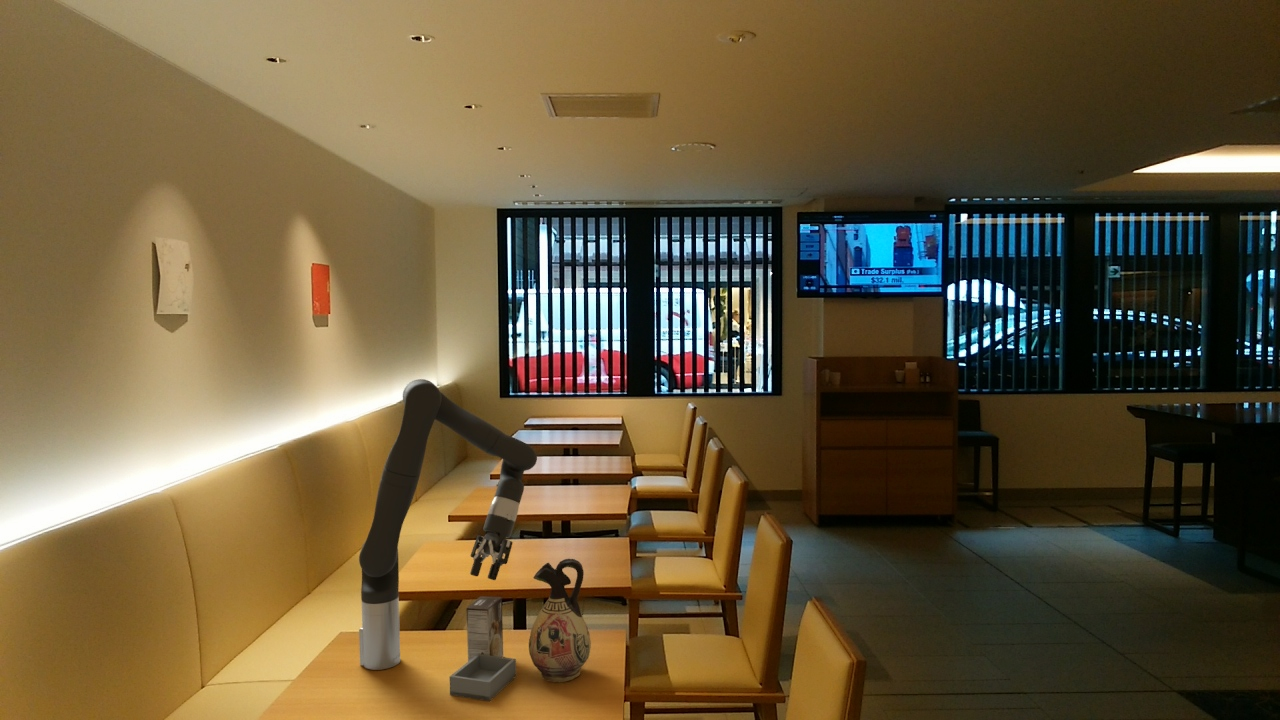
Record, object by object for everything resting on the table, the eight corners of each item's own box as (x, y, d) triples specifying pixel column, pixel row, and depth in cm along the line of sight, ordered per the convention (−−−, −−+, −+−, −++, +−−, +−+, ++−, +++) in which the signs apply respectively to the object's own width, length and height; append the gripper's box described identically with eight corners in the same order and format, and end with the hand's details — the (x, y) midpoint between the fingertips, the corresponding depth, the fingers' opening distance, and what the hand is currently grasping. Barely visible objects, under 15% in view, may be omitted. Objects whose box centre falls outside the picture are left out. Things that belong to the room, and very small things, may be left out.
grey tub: (449, 695, 194) (449, 676, 194) (478, 671, 207) (478, 653, 207) (489, 701, 191) (489, 682, 191) (516, 676, 204) (515, 658, 204)
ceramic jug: (524, 689, 197) (522, 567, 195) (534, 662, 212) (532, 548, 211) (594, 689, 197) (592, 567, 195) (599, 662, 212) (598, 548, 210)
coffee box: (481, 654, 218) (479, 595, 217) (504, 656, 216) (502, 596, 216) (467, 669, 209) (465, 607, 208) (490, 671, 207) (489, 609, 207)
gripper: (476, 511, 221) (456, 571, 215) (505, 514, 210) (485, 576, 205) (498, 519, 225) (479, 578, 220) (528, 522, 215) (509, 584, 209)
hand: (482, 577), depth 212 cm, fingers open, 8 cm apart
